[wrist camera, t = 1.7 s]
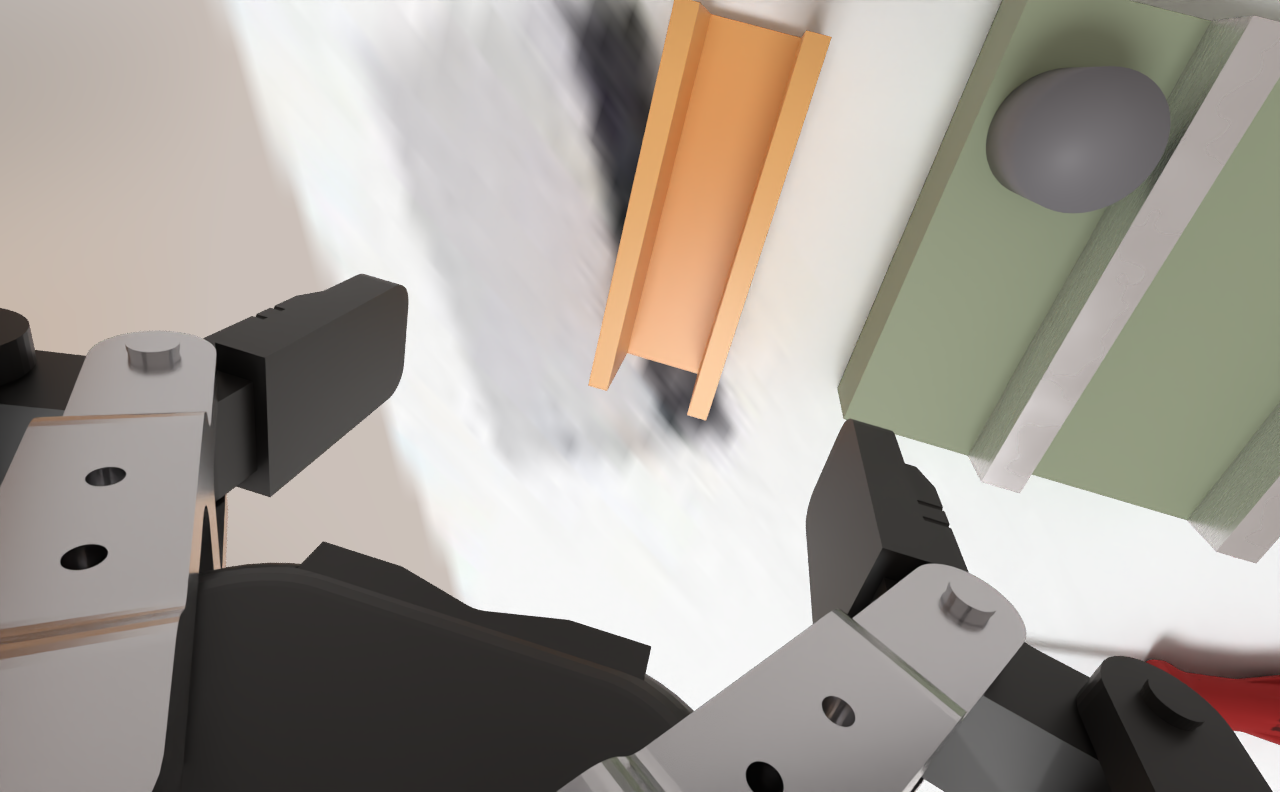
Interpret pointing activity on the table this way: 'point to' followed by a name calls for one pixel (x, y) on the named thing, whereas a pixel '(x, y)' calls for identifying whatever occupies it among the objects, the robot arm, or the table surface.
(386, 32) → the table surface
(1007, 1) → the marble run board
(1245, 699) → the screwdriver
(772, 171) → the discharge chute
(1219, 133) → the chute cradle
